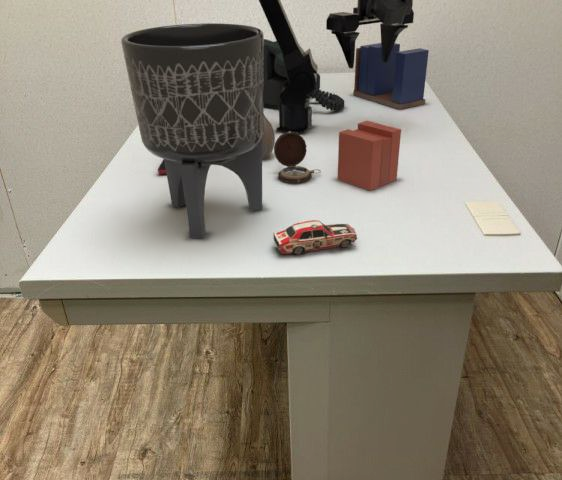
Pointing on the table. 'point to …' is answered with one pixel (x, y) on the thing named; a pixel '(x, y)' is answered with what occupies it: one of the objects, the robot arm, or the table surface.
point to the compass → (292, 157)
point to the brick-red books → (369, 155)
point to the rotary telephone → (278, 77)
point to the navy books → (376, 70)
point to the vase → (267, 138)
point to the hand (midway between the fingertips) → (368, 65)
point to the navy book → (410, 75)
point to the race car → (313, 237)
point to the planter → (200, 106)
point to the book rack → (382, 98)
